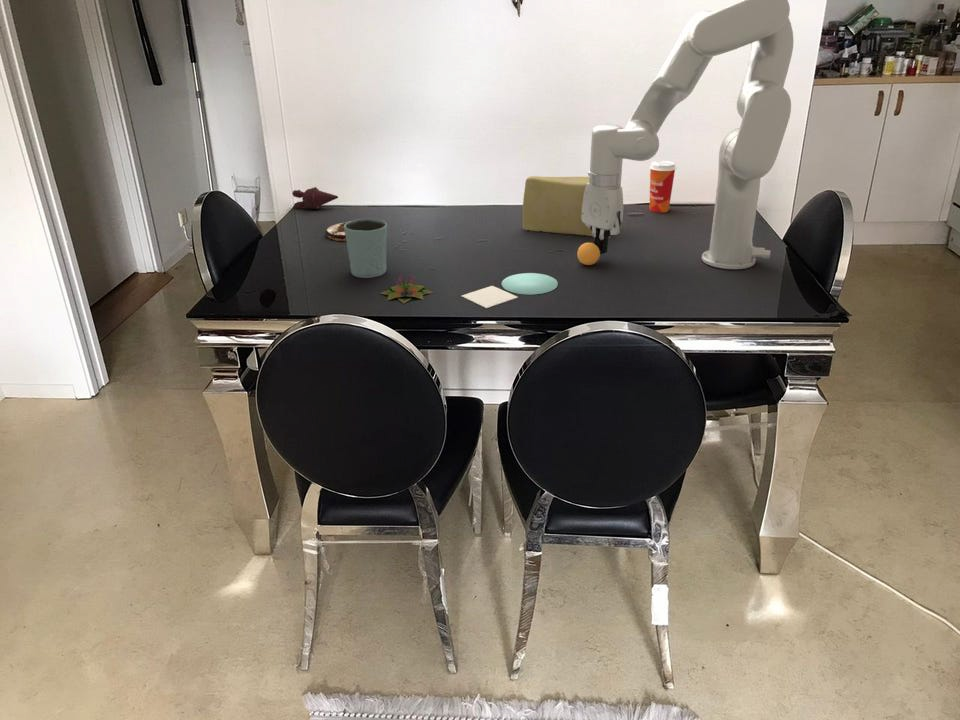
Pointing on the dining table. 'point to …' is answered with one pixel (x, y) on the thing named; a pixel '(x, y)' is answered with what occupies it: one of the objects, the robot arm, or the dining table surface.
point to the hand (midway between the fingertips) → (600, 252)
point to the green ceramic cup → (366, 247)
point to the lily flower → (397, 290)
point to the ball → (588, 253)
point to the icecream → (312, 198)
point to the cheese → (555, 205)
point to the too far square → (489, 296)
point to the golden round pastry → (337, 232)
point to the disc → (529, 283)
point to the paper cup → (661, 185)
